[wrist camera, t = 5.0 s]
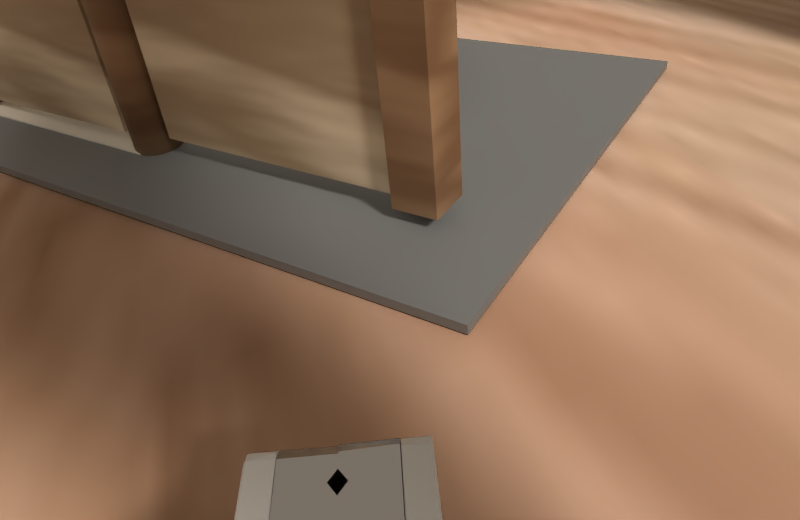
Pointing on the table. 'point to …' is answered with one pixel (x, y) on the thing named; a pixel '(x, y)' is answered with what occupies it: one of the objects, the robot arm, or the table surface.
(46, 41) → the fence fixed
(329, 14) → the fence panel
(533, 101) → the board
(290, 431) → the table surface
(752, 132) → the table surface
